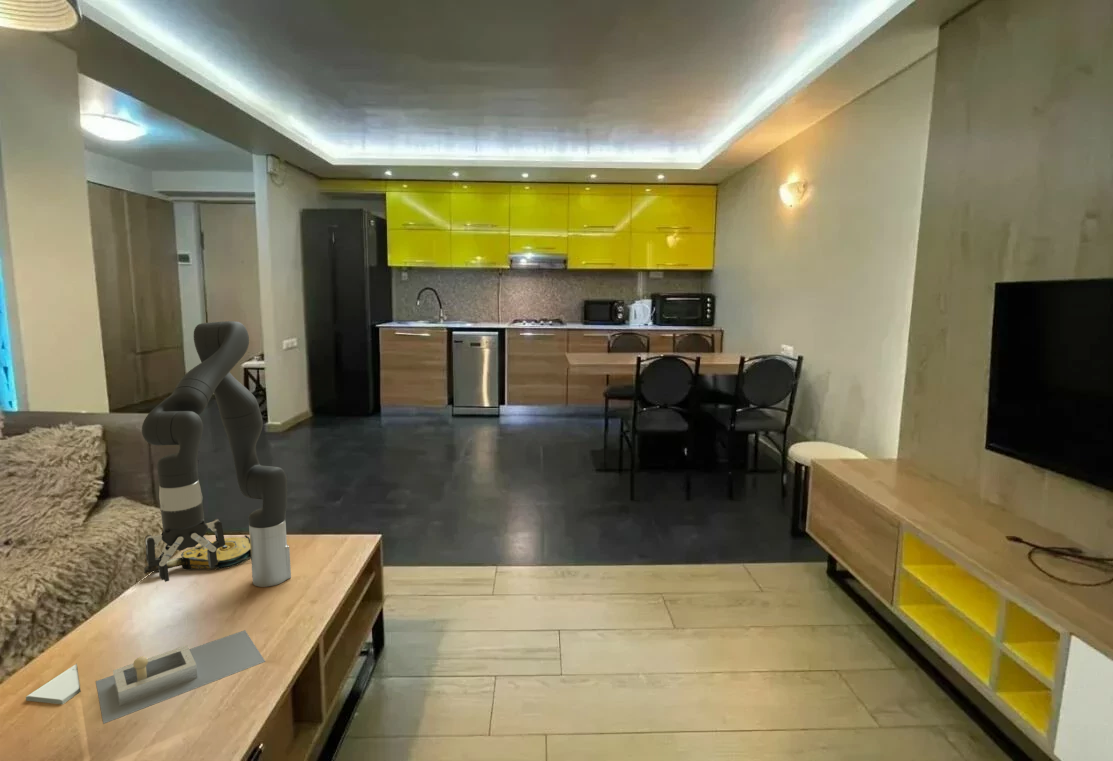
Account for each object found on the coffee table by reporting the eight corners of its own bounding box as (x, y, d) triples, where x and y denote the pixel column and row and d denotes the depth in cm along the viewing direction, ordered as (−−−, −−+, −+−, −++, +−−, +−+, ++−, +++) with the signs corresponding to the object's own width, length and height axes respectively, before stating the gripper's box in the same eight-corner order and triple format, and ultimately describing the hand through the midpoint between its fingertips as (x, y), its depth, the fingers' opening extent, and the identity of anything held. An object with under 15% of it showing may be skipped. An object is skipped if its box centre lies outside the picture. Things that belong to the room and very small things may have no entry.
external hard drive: (26, 703, 115) (84, 664, 127) (63, 707, 114) (117, 667, 126) (25, 695, 114) (83, 657, 127) (62, 699, 114) (117, 660, 126)
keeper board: (245, 634, 138) (243, 605, 137) (265, 666, 126) (263, 635, 125) (96, 686, 119) (92, 653, 118) (104, 729, 107) (100, 693, 106)
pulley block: (143, 547, 170) (256, 526, 187) (145, 564, 172) (257, 542, 188) (141, 572, 159) (262, 548, 175) (143, 591, 161) (263, 565, 177)
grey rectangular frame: (188, 657, 127) (187, 645, 126) (197, 677, 120) (196, 664, 120) (114, 683, 118) (112, 670, 118) (119, 706, 111) (118, 692, 111)
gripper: (214, 490, 130) (221, 556, 133) (137, 506, 121) (146, 578, 123) (223, 499, 125) (230, 568, 128) (144, 517, 115) (153, 591, 118)
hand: (189, 573), depth 126 cm, fingers open, 8 cm apart
